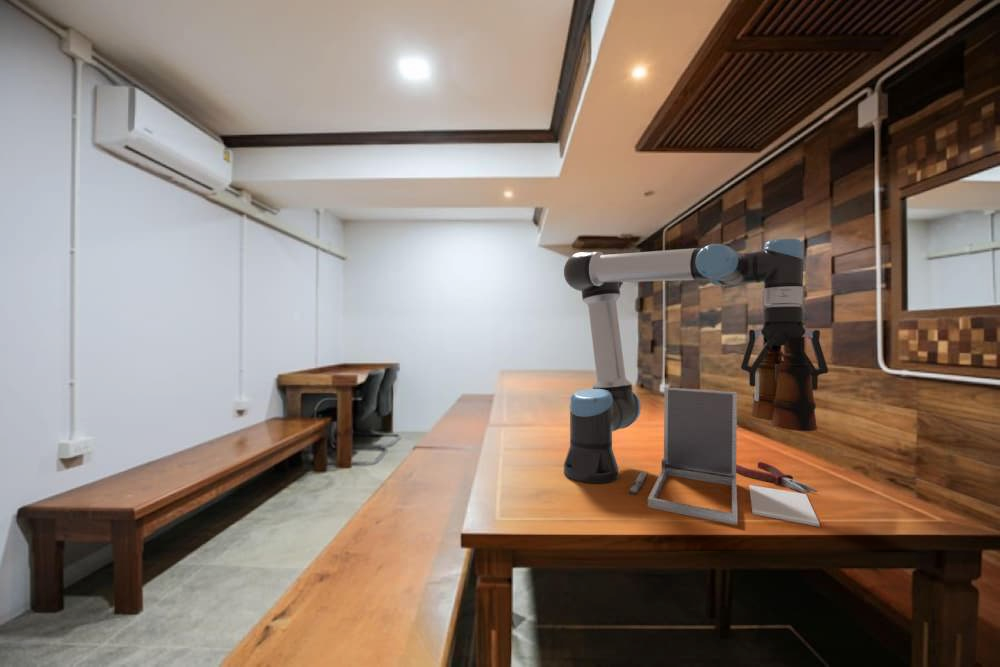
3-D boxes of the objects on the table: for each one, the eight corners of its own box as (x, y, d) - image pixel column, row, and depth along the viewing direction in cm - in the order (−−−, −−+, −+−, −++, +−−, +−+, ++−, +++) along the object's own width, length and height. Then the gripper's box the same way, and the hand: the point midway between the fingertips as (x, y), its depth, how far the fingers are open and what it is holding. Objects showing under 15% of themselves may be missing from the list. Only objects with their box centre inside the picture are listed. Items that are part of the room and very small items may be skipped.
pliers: (794, 499, 102) (794, 488, 102) (729, 472, 121) (729, 463, 121) (830, 495, 105) (830, 484, 105) (761, 469, 124) (761, 460, 124)
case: (646, 506, 96) (647, 401, 95) (663, 472, 119) (663, 387, 119) (737, 525, 87) (738, 409, 87) (736, 483, 110) (737, 392, 110)
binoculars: (745, 413, 107) (746, 335, 106) (780, 414, 105) (781, 335, 105) (783, 430, 88) (785, 336, 88) (826, 431, 87) (827, 337, 87)
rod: (629, 494, 103) (629, 487, 103) (640, 477, 116) (640, 471, 116) (636, 496, 103) (636, 489, 103) (646, 478, 115) (646, 472, 115)
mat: (752, 513, 92) (752, 511, 92) (749, 487, 108) (749, 485, 108) (819, 526, 86) (819, 523, 86) (805, 496, 102) (806, 494, 102)
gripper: (729, 306, 99) (728, 400, 99) (847, 304, 88) (845, 409, 88) (729, 308, 105) (728, 395, 106) (839, 306, 95) (838, 403, 95)
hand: (781, 402), depth 97 cm, fingers closed on binoculars, 9 cm apart
